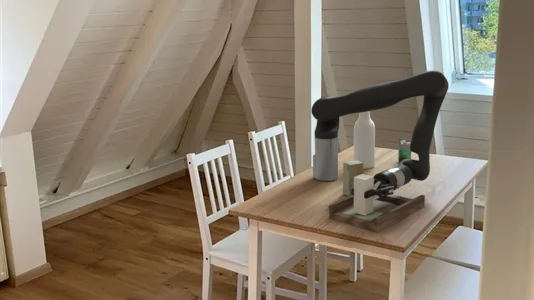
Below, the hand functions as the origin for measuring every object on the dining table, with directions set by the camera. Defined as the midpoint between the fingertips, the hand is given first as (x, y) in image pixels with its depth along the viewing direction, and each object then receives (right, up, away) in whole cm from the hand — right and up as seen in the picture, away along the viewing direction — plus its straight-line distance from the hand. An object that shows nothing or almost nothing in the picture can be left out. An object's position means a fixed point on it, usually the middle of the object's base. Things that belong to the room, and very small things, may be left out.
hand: (358, 193), depth 181 cm
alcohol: (+12, +7, +62) cm, 64 cm away
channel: (+9, -7, +10) cm, 15 cm away
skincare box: (+3, -2, +29) cm, 29 cm away
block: (+2, -6, +4) cm, 8 cm away
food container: (+31, +8, +64) cm, 71 cm away
